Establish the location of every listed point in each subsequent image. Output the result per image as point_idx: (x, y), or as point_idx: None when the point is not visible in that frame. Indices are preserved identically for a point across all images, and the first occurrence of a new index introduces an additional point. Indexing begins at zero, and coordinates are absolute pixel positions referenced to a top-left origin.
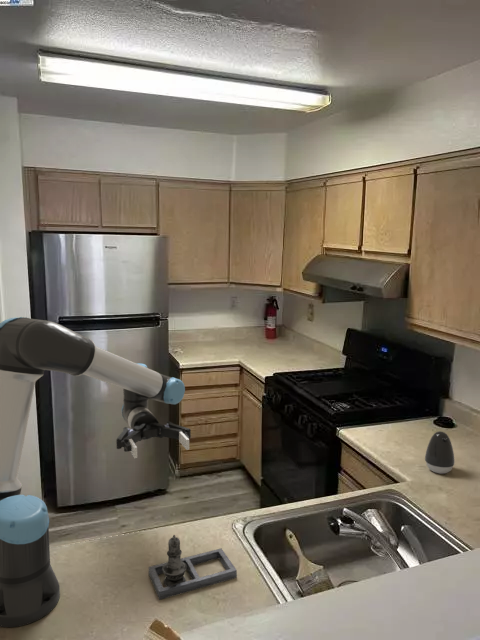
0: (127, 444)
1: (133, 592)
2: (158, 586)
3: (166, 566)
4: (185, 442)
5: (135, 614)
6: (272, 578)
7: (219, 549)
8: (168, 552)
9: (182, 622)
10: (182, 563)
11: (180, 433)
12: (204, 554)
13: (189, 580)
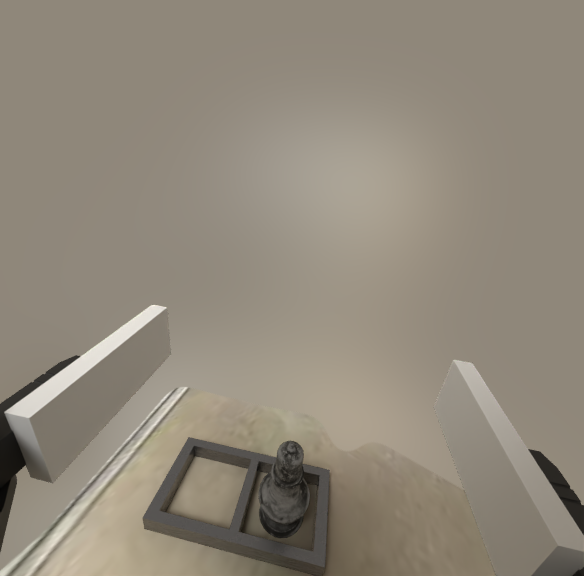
0: (557, 488)
1: (366, 532)
2: (325, 484)
3: (301, 496)
4: (157, 336)
5: (370, 473)
6: (153, 414)
7: (150, 516)
8: (300, 475)
9: (312, 421)
10: (268, 485)
11: (70, 385)
12: (190, 522)
13: (270, 463)
